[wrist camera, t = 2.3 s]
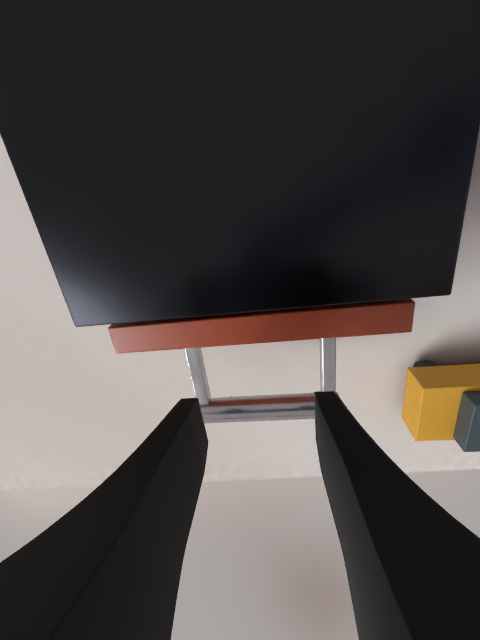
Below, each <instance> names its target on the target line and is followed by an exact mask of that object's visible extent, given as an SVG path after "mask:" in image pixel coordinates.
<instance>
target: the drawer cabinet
mask: <svg viewBox="0 0 480 640" xmlns="http://www.w3.org/2000/svg"><path fill="white" fill-rule="evenodd" d="M479 127H480V0H0V134H1V137H2V139H3V142H4V145H5V147H6V150H7V152H8V155H9V157H10V160H11V162H12V165H13V168H14V170H15V173H16V175H17V178H18V180H19V183H20V185H21V188H22V191H23V193H24V196H25V198H26V201H27V203H28V206H29V209H30V211H31V214H32V216H33V219H34V221H35V224H36V226H37V229H38V232H39V234H40V237H41V239H42V242H43V244H44V247H45V249H46V252H47V255H48V257H49V260H50V262H51V265H52V267H53V270H54V272H55V275H56V278H57V280H58V283H59V285H60V288H61V290H62V293H63V296H64V298H65V301H66V303H67V306H68V308H69V311H70V313H71V316H72V319H73V321H74V324H75V326H76V327H81V326H92V325H104V324H116V323H127V322H139V321H151V320H162V319H174V318H186V317H197V316H209V315H221V314H232V313H244V312H256V311H267V310H279V309H291V308H302V307H314V306H326V305H337V304H349V303H361V302H372V301H384V300H396V299H407V298H419V297H431V296H442V295H450V294H451V290H452V284H453V279H454V273H455V267H456V261H457V255H458V250H459V244H460V238H461V232H462V226H463V220H464V215H465V209H466V203H467V197H468V191H469V185H470V180H471V174H472V168H473V162H474V156H475V150H476V145H477V139H478V133H479Z"/></svg>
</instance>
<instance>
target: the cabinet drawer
mask: <svg viewBox="0 0 480 640" xmlns="http://www.w3.org/2000/svg"><path fill="white" fill-rule="evenodd" d="M414 307H415V302H414V301H413V300H412V299H410V298H407V299H396V300H384V301H372V302H361V303H349V304H337V305H326V306H314V307H302V308H291V309H279V310H267V311H256V312H244V313H232V314H221V315H209V316H197V317H186V318H174V319H162V320H151V321H139V322H127V323H116V324H112V325H111V326H109V327H108V330H109V333H110V336H111V339H112V342H113V345H114V348H115V351H116V353H129V352H143V351H157V350H171V349H185V353H186V358H187V362H188V366H189V371H190V375H191V379H192V383H193V388H194V392H195V396H196V398H198V399H199V404H200V408H201V413H202V417H203V421H204V423H220V422H245V421H270V420H294V419H315V393H300V394H280V395H261V396H241V397H221V398H211V395H210V390H209V385H208V380H207V376H206V371H205V366H204V361H203V356H202V351H201V347H212V346H226V345H240V344H253V343H267V342H281V341H295V340H308V339H320V379H321V392H323V391H334V392H335V393H337V392H336V337H350V336H364V335H377V334H391V333H405V332H411V331H412V324H413V316H414ZM337 394H338V393H337ZM338 396H339V395H338Z"/></svg>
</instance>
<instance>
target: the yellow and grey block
mask: <svg viewBox="0 0 480 640" xmlns="http://www.w3.org/2000/svg"><path fill="white" fill-rule="evenodd" d="M402 418H403V420H404V422H405V424H406V425H407V427H408V429H409V431H410V432H411V434H412V436H413V438H414V439H415V441H432V440H456V442H457V443H458V444H459V446H460V447H461V448H462V450H463V451H464V452H476V451H480V364H463V365H446V366H440V365H439V364H437V363H435V362H432V361H418V362H416V363H415V364H414V365H413V367H412V368H408V369H407V378H406V386H405V394H404V402H403V410H402Z"/></svg>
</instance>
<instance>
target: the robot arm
mask: <svg viewBox="0 0 480 640" xmlns="http://www.w3.org/2000/svg"><path fill="white" fill-rule="evenodd" d="M314 393H315V426H316V443H317V449H318V455H319V461H320V468H321V472H322V476H323V480H324V483H325V487H326V491H327V495H328V498H329V502H330V506H331V510H332V513H333V517H334V521H335V525H336V529H337V532H338V536H339V540H340V543H341V548H342V552H343V557H344V561H345V566H346V570H347V576H348V582H349V587H350V593H351V598H352V604H353V609H354V614H355V620H356V625H357V631H358V637H359V640H480V538H479V537H477V536H476V535H475V534H474V533H472V532H471V531H470V530H469V529H467V528H466V527H465V526H464V525H462V524H461V523H460V522H459V521H457V520H456V519H455V518H453V517H452V516H451V515H450V514H449V513H448V512H447V511H446V510H445V509H443V508H442V507H441V506H440V505H438V503H436V502H435V501H434V500H433V499H432V498H431V497H430V496H428V495H427V494H426V493H425V492H424V491H423V490H422V489H421V488H420V487H419V486H418V485H416V484H415V483H414V482H413V481H412V480H411V479H410V478H409V477H408V476H407V475H406V474H405V473H404V472H403V471H402V470H401V469H400V468H399V467H398V466H397V465H396V464H395V463H394V462H393V461H392V460H391V459H390V458H389V457H388V456H387V455H386V454H385V452H384V451H383V450H382V449H381V448H380V447H379V446H378V445H377V444H376V443H375V441H374V440H373V439H372V438H371V437H370V436H369V434H368V433H367V432H366V431H365V430H364V429H363V428H362V426H361V425H360V424H359V423H358V421H357V420H356V419H355V418H354V416H353V415H352V414H351V413H350V411H349V410H348V409H347V407H346V406H345V405H344V403H343V402H342V400H341V399H340V397H339V396H338V394H337V393H335V392H334V391H323V392H314ZM207 449H208V439H207V434H206V430H205V426H204V421H203V417H202V413H201V408H200V404H199V399H198V398H187V399H181V400H180V401H179V402H178V403H177V404H176V405H175V406H174V407H173V408H172V410H171V411H170V412H169V413H168V414H167V415H166V417H165V418H164V419H163V420H162V421H161V422H160V424H159V425H158V426H157V427H156V428H155V429H154V430H153V432H152V433H151V434H150V435H149V436H148V437H147V438H146V439H145V440H144V442H143V443H142V444H141V445H140V446H139V447H138V448H137V449H136V450H135V451H134V452H133V453H132V454H131V455H130V456H129V457H128V458H127V459H126V461H125V462H124V463H123V464H122V465H121V466H120V467H119V468H118V469H117V470H116V471H115V472H114V473H113V474H112V475H110V476H109V477H108V478H107V479H106V480H105V481H104V482H103V483H102V484H101V485H100V486H98V487H97V488H96V489H95V490H94V491H93V492H92V493H91V494H89V495H88V496H87V497H86V498H85V499H84V500H83V501H81V502H80V503H79V504H78V505H76V506H75V507H74V508H73V509H71V510H70V511H69V512H68V513H67V514H65V515H64V516H63V517H61V518H60V519H59V520H58V521H56V522H55V523H54V524H53V525H51V526H50V527H49V528H48V529H46V530H45V531H44V532H42V533H41V534H40V535H38V536H37V537H36V538H34V539H33V540H32V541H30V542H29V543H28V544H26V545H25V546H23V547H22V548H21V549H19V550H18V551H16V552H15V553H13V554H12V555H11V556H9V557H8V558H6V559H5V560H3V561H2V562H1V563H0V640H171V633H172V626H173V619H174V612H175V606H176V599H177V593H178V587H179V581H180V575H181V569H182V563H183V557H184V553H185V548H186V544H187V540H188V536H189V531H190V528H191V524H192V520H193V516H194V512H195V508H196V504H197V500H198V496H199V492H200V487H201V484H202V480H203V476H204V471H205V464H206V457H207Z"/></svg>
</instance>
